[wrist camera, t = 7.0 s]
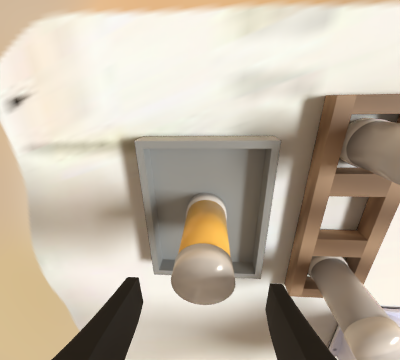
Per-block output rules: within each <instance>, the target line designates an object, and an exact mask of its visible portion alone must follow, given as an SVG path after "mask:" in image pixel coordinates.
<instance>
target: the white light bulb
mask: <svg viewBox="0 0 400 360" xmlns="http://www.w3.org/2000/svg"><path fill="white" fill-rule="evenodd" d="M340 159H342V160H343V161H345V162H347V163H349V164H351V165H353V166H356V167H359V168H363V169H365V170H368V171H370V172H372V173H374V174H376V175H379V176H381V177H383V178H385V179H387V180H390V181H392V182H394V183H396V184H398V185H400V123H395V122H390V121H387V120H383V119H374V118H362V119H358V120H356V121H354V122H352V123H350V124H349V125H348V129H347V132H346V136H345V140H344V143H343V147H342V151H341V154H340Z"/></svg>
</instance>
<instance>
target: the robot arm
mask: <svg viewBox="0 0 400 360" xmlns="http://www.w3.org/2000/svg"><path fill="white" fill-rule="evenodd" d="M142 305H143V299H142V293H141V288H140V283H139V278H136V277H128V278H126V280H125V281H124V282H123V283H122V284H121V286H120V287H119V288H118V289H117V290H116V292H115V293H114V294H113V295H112V296H111V298H110V299H109V300H108V301H107V302H106V304H105V305H104V306H103V307H102V308H101V309H100V310H99V311H98V313H97V314H96V315H95V316H94V317H93V318H92V319H91V320H90V321H89V323H88V324H87V325H86V326H85V327H84V328H83V329H82V330H81V331H80V332H79V333H78V334H77V335H76V336H75V337H74V338H73V339H72V341H70V342H69V343H68V344H67V345H66V346H65V347H64V348H63V349H62V350H61V351H60V352H59V353H58V354H57V355H56V356H55V357H54V358H53V359H52V360H125V357H126V354H127V352H128V349H129V346H130V343H131V341H132V338H133V335H134V333H135V330H136V327H137V324H138V321H139V317H140V313H141V309H142ZM382 309H383V310H384V311H385V312H386V314H387V315H388V316H389V317H390V319H391V320H393V321H394V322H396V324H397V325H398V326H399V327H400V309H386V308H382ZM266 315H267V321H268V326H269V331H270V335H271V339H272V342H273V346H274V349H275V353H276V357H277V360H337V359H336V358H335V357H334V356H337V358H338V360H357V359H356V358H355V356H354V354H353V352H352V351H351V349H350V347H349V345H348V343H347V342H346V340H345V338H344V333H343V332H342V330H341V328H340V326H339V325H338V328H337V330H336V332H335V335H334V337H333V340H332V342H331V344H330V347H329V349H328V348H327V347H326V345H325V344H324V343H323V342H322V340H321V339H320V338H319V336H318V335H317V334H316V332H315V331H314V330H313V328H312V327H311V326H310V324H309V323H308V321H307V320H306V319H305V317H304V316H303V314H302V313H301V312H300V310H299V309H298V307H297V306H296V304H295V303H294V301H293V300H292V298H291V297H290V295H289V294H288V292H287V291H286V289H285V288H284V286H283V285H282V284H270V286H269V292H268V298H267V303H266Z"/></svg>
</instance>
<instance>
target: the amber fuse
mask: <svg viewBox="0 0 400 360" xmlns="http://www.w3.org/2000/svg"><path fill="white" fill-rule="evenodd" d="M226 220H227V214H226V206H225V204H224V202H223V200H222V199H221V198H220V197H219V196H217V195H215V194H212V193H200V194H198V195H196V196H194V197H193V198H192V199H191V200H190V201H189V203H188V207H187V211H186V221H185V226H184V230H183V235H182V239H181V244H180V248H179V253H178V255H177V257H176V259H175V263H174V268H173V272H172V277H171V284H172V287H173V289H174V291H175V292H176V293H177V294H178V295H179V296H180V297H181V298H183V299H184V300H186V301H188V302H191V303H194V304H199V305H211V304H216V303H219V302H222V301H224V300H225V299H227V298H228V297H229V296H230V295H231V294H232V292H233V291H234V288H235V276H234V268H233V262H232V259H231V257H230V248H229V240H228V231H227V223H226Z"/></svg>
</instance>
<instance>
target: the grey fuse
mask: <svg viewBox="0 0 400 360" xmlns="http://www.w3.org/2000/svg"><path fill="white" fill-rule="evenodd" d="M308 273H309V275H310V276H311V278H312V279H313V280H314V282H315V283H316V285H317V287H318V289H319V291H320V292H321V294H322V296H323V298H324V299H325V301H326V303H327V305H328V307H329V308H330V310H331V312H332V314H333V316H334V317H335V319H336V321H337V323H338V325H339V326H340V328H341V330H342V332H343V333H344V338H345V340H346V342H347V343H348V345H349V347H350V349H351V351H352V352H353V354H354V356H355V358H356V359H357V360H400V327H399V326H398V325H397V324H396V322H394V321H393V320H391V319H390V317H389V316H388V315H387V314H386V312H385V311H384V310H383V309H382V307H381V306H380V305H379V304H378V302H377V301H376V300H375V299H374V298H373V296H372V295H371V294H370V293H369V291H368V290H367V289H366V288H365V286H364V285H363V284H362V283H361V282H360V280H359V279H358V278H357V277H356V275H355V274H354V273H353V272H352V270H351V269H350V268H349V267H348V264H347V263H346V261H345V260H344V259H343V258H342V257H330V256H312V259H311V263H310V267H309V270H308Z"/></svg>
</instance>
